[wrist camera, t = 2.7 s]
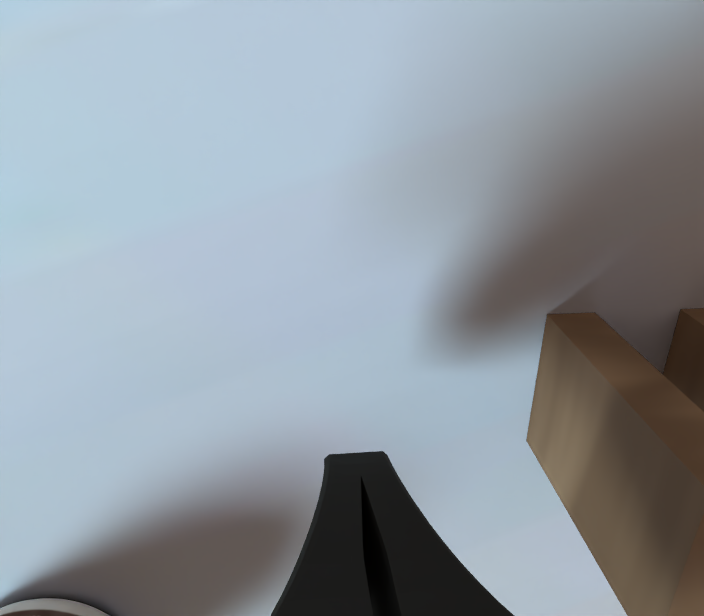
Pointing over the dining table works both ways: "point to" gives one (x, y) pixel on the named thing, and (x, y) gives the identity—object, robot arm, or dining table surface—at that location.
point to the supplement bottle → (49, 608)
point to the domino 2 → (688, 356)
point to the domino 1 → (623, 463)
